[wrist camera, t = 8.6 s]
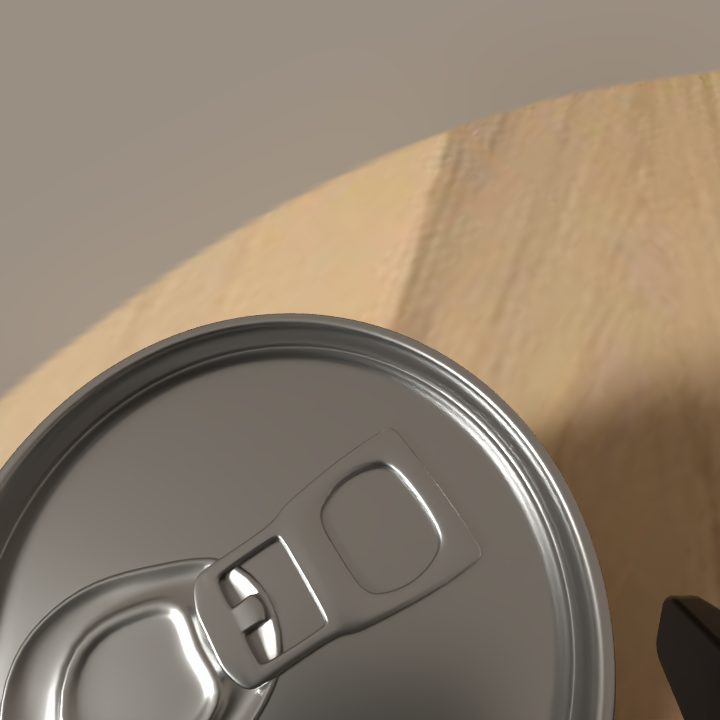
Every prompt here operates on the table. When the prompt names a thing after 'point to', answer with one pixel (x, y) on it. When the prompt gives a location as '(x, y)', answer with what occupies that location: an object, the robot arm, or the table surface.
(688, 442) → the table surface
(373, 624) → the can
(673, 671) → the robot arm
